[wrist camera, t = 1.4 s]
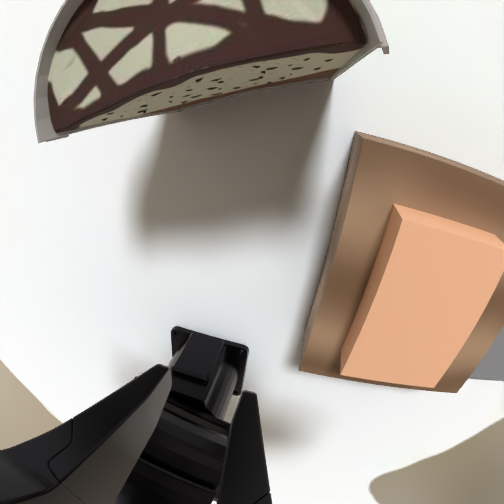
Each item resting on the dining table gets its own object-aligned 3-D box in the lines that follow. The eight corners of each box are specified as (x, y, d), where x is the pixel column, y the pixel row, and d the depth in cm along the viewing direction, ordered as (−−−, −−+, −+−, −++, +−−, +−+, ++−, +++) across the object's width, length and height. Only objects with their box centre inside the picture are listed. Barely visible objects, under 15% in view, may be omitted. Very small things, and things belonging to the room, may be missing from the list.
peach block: (428, 364, 16) (433, 387, 15) (341, 349, 17) (340, 374, 15) (494, 234, 12) (511, 252, 10) (393, 203, 13) (402, 219, 11)
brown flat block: (445, 355, 20) (456, 393, 17) (305, 330, 22) (298, 370, 19) (522, 189, 14) (556, 211, 10) (355, 131, 15) (363, 138, 12)
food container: (335, -20, 12) (335, -125, 3) (361, 76, 14) (404, 41, 5) (138, 33, 15) (13, 15, 6) (156, 118, 18) (30, 147, 9)
